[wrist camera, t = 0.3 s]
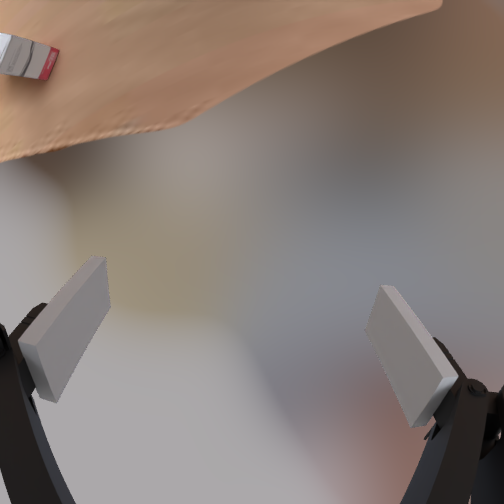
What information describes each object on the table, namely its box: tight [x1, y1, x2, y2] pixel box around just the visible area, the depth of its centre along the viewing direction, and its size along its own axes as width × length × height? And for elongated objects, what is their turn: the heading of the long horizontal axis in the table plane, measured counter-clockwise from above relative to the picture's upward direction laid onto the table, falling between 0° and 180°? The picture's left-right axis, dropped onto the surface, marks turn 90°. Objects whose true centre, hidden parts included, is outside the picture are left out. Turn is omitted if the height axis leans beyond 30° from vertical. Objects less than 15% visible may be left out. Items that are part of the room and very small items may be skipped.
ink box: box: [0, 33, 59, 80], centre depth 26 cm, size 9×5×12 cm, turn 63°
